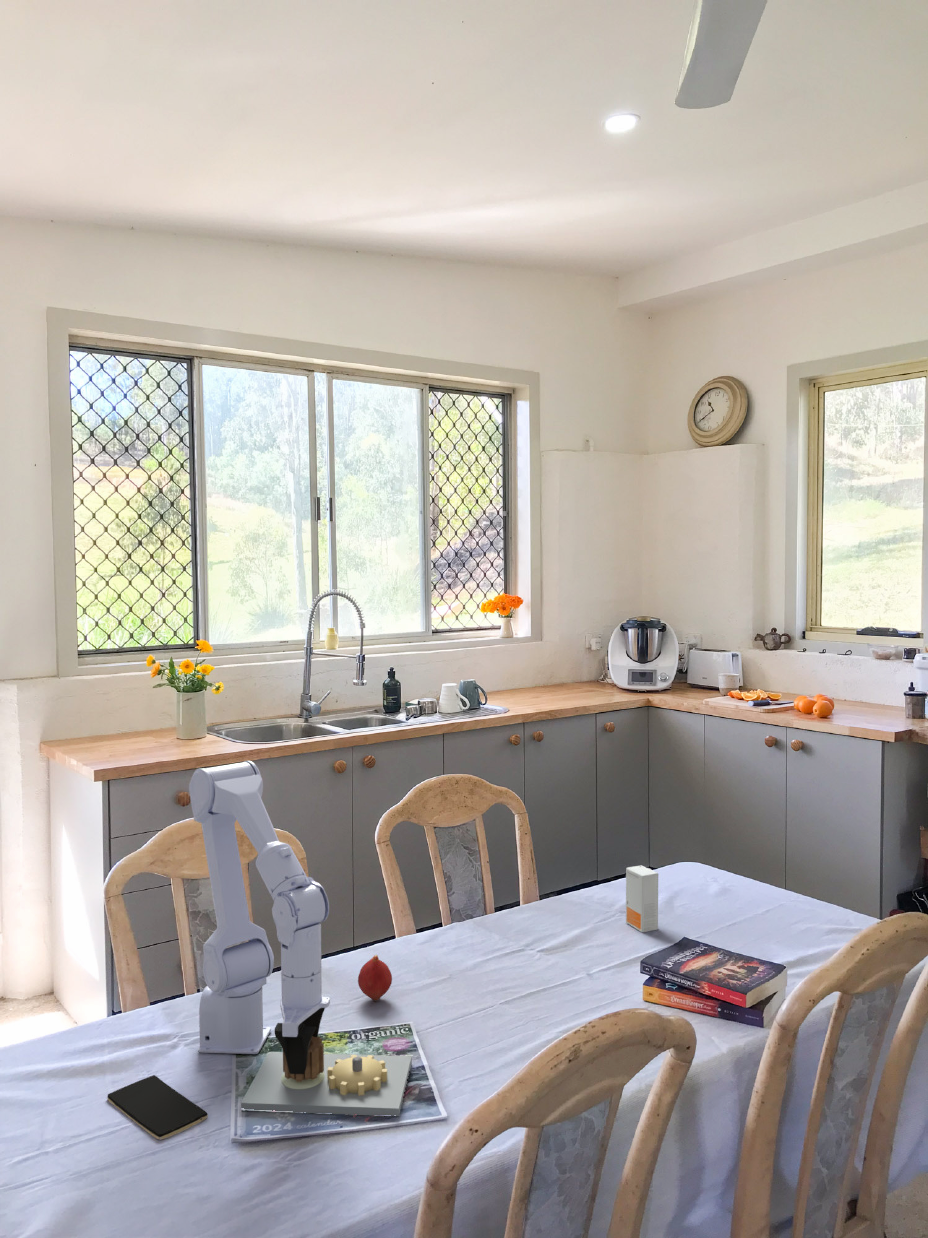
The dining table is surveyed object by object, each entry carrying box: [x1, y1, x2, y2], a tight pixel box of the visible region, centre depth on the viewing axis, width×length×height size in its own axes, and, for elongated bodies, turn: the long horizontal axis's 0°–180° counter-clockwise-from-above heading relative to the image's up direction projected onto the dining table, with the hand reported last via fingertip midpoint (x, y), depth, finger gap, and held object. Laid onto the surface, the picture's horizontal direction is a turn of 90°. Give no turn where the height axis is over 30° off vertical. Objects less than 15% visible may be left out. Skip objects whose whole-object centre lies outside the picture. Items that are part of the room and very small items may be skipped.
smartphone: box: [107, 1074, 209, 1141], centre depth 134 cm, size 7×1×15 cm
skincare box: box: [625, 864, 659, 933], centre depth 200 cm, size 6×4×12 cm
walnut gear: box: [282, 1036, 325, 1082], centre depth 140 cm, size 6×6×4 cm
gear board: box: [240, 1051, 413, 1117], centre depth 139 cm, size 22×14×4 cm, turn 86°
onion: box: [357, 954, 393, 1002], centre depth 167 cm, size 6×6×8 cm
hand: (302, 1061), depth 140 cm, fingers closed on walnut gear, 6 cm apart
